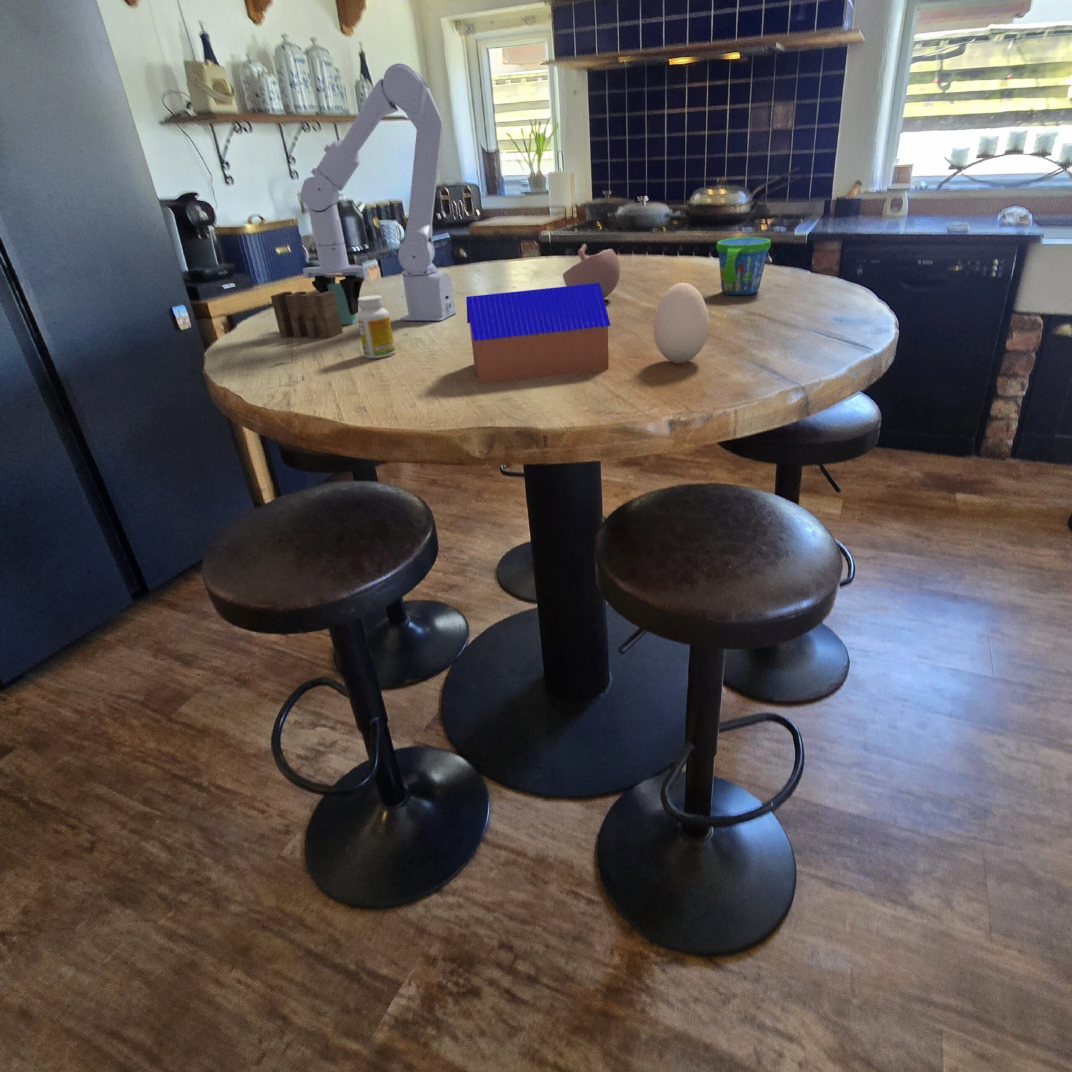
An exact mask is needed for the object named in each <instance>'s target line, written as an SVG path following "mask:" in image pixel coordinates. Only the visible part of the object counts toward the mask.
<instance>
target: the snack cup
mask: <svg viewBox="0 0 1072 1072" xmlns="http://www.w3.org/2000/svg"><path fill="white" fill-rule="evenodd" d="M771 244H772V242H771V238H770V239H769V238H766V237H753V236H752V237H750V236H749V237H745V236H744V237H733V238H725V239H721V240H718V241H717V243H716V245H715V248H716V251H717V252H718V261H719V263H718V264H719V274H720V282H721V283H720V287H721V292H722V294H727V295H728V294H729V295H730V296H747V295H753V294H755V293H757V292H758V291H759V289H760V287H761V281H762V277H763V273H764V269H765V265H766V262H767V261H766V260H767V254H768V251H769V250H770V248H771Z"/></svg>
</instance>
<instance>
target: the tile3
mask: <svg viewBox="0 0 1072 1072" xmlns="http://www.w3.org/2000/svg"><path fill="white" fill-rule="evenodd" d="M318 294H320V291H317V290H316V291H315V290H314V291H313V290H312V291H310V292H306V294H304V295H301V296H300V300H301V304H302V309H303V313H304V318H305V322H306V326H307V331H308V335H307V336H308V338H310V339H316V338H319V337H322V336H323V334H322V329H321V324H320V320H319V315H318V311H317V306H316V302H315V297H314V296H315V295H318ZM321 335H322V336H321Z"/></svg>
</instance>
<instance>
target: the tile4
mask: <svg viewBox="0 0 1072 1072" xmlns="http://www.w3.org/2000/svg"><path fill="white" fill-rule="evenodd" d="M304 294H307V292H306V291H305V290H304V291H297V292H292V294H290V295H286V296H285V298H286V302H287V306H288V311H289V315H290V319H291V323H292V328H293V332H294V335H293V336H294V338H295V337H296V338H297V337H298V338H304V337H307V336H309V335H308V331H307V326H306V322H305V318H304V313H303V309H302V304H301V300H300V296H301V295H304ZM306 335H307V336H306ZM296 338H295V339H296Z"/></svg>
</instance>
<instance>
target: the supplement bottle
mask: <svg viewBox="0 0 1072 1072" xmlns="http://www.w3.org/2000/svg"><path fill="white" fill-rule="evenodd" d="M383 305H384V301H383V297H382V295H380V294H379V295H376V294H375V295H374V294H372V295H365V296H359V298H358V308H360V311H358V313H356V319H357V324H358V331H359V335H360V340H361V345H362V350H363V354H364V356H365V358H367V359H373V360H375V359H384V358H388V357H391V356H393V355H394V354H395V353H396V347H395V342H394V336H393V331H392V326H391V325H392V324H391V320H390V319H391V318H390V313H389V311H388V310H387V309H386V308H383Z"/></svg>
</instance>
